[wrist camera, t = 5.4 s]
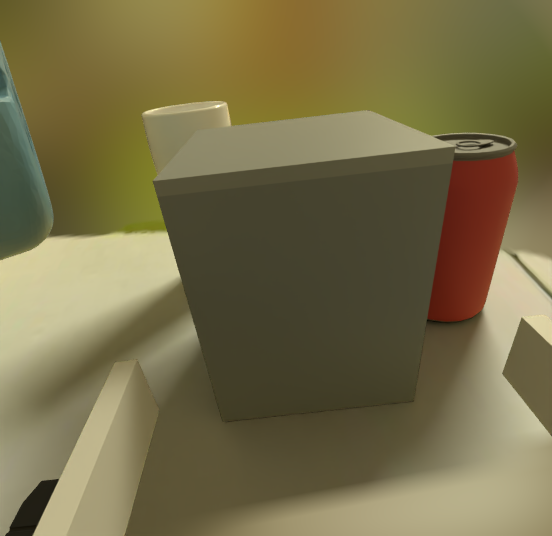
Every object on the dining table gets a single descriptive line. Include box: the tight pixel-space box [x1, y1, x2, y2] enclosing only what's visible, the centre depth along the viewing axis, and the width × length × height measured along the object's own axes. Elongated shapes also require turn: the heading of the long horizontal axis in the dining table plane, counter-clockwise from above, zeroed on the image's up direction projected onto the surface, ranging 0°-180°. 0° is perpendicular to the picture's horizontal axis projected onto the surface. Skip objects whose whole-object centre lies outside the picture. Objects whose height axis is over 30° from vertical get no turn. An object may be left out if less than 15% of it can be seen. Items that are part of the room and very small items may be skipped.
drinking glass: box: [142, 101, 231, 175], centre depth 31 cm, size 7×7×15 cm
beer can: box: [427, 133, 518, 322], centre depth 24 cm, size 7×7×12 cm
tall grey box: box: [153, 110, 456, 422], centre depth 21 cm, size 11×11×14 cm
